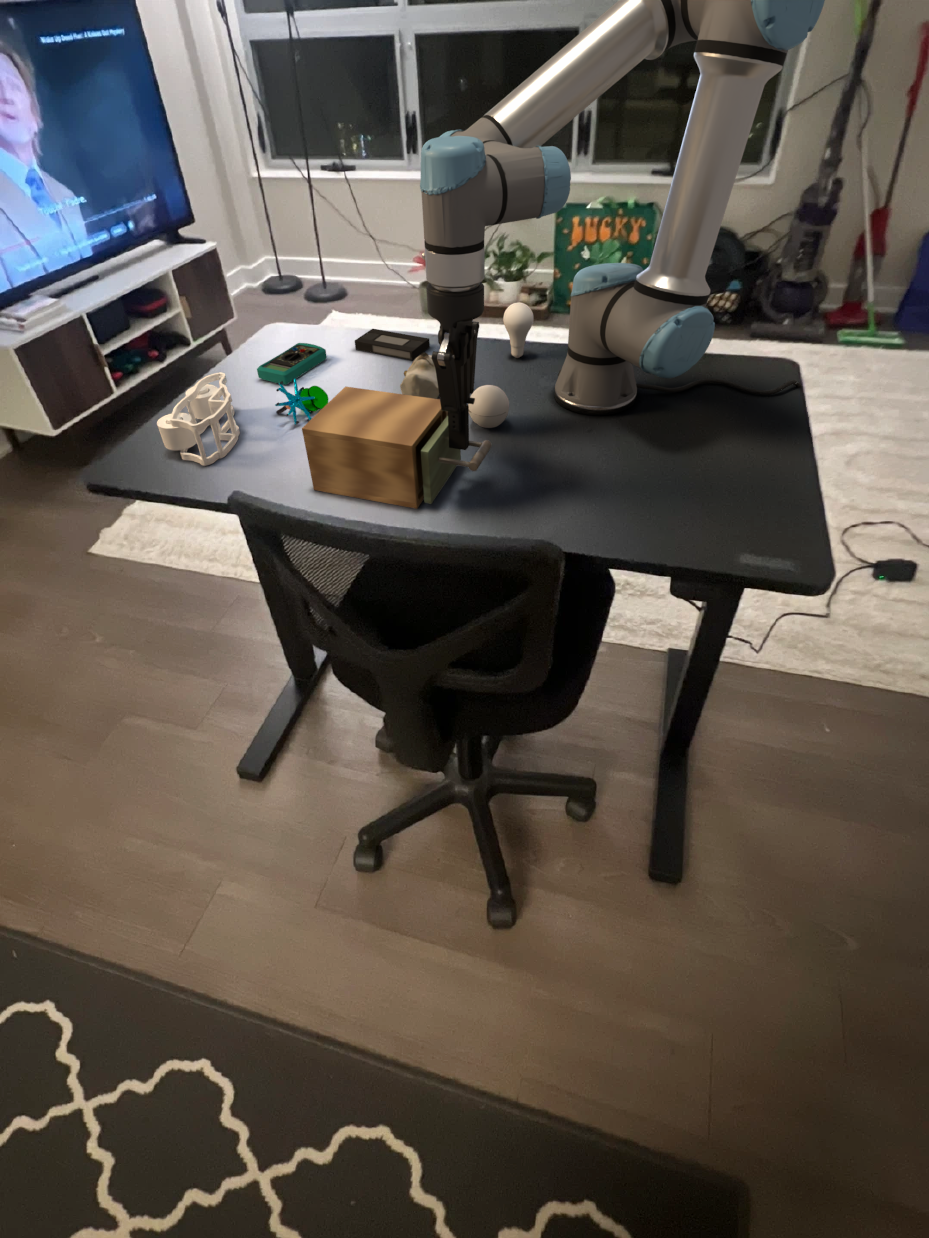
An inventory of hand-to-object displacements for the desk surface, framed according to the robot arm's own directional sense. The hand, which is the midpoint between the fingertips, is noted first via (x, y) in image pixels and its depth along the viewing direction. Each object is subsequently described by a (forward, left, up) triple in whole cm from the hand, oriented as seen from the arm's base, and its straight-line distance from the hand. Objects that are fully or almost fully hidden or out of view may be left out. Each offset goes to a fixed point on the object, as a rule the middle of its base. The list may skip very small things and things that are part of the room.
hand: (459, 446), depth 108 cm
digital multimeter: (+38, -44, -8) cm, 58 cm away
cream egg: (-3, -20, -8) cm, 21 cm away
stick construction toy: (+32, -25, -8) cm, 41 cm away
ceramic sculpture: (+9, -33, -8) cm, 35 cm away
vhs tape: (+19, -55, -8) cm, 58 cm away
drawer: (+7, -2, -7) cm, 10 cm away
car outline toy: (+46, -16, -8) cm, 49 cm away
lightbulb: (-8, -51, -8) cm, 52 cm away
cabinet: (+13, -4, -8) cm, 15 cm away
